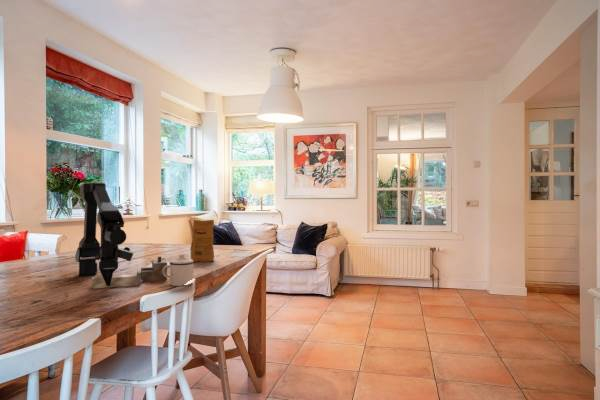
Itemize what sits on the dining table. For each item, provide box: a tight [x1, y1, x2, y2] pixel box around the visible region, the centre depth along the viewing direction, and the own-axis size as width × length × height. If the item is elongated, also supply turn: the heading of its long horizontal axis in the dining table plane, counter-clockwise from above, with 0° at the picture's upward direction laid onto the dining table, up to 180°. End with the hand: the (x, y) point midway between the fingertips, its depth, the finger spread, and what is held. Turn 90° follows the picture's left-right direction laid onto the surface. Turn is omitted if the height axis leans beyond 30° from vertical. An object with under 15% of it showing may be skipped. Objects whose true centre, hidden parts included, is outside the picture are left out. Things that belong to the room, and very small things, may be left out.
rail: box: [91, 270, 142, 289], centre depth 149 cm, size 17×4×5 cm, turn 116°
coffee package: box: [190, 219, 215, 263], centre depth 208 cm, size 10×12×22 cm
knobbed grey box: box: [140, 255, 168, 283], centre depth 162 cm, size 9×9×9 cm
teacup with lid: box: [163, 253, 195, 287], centre depth 153 cm, size 12×9×12 cm
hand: (108, 283), depth 148 cm, fingers open, 9 cm apart
